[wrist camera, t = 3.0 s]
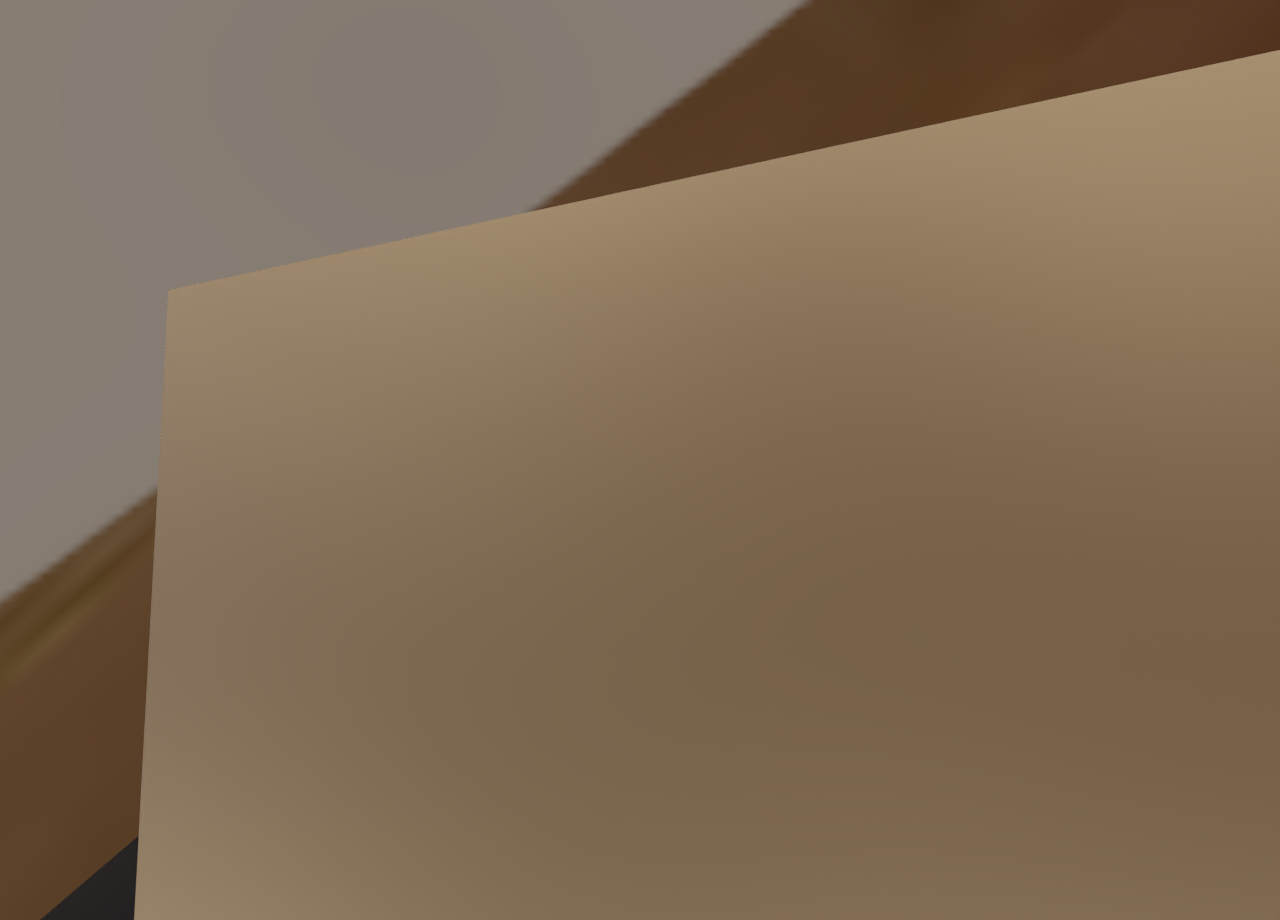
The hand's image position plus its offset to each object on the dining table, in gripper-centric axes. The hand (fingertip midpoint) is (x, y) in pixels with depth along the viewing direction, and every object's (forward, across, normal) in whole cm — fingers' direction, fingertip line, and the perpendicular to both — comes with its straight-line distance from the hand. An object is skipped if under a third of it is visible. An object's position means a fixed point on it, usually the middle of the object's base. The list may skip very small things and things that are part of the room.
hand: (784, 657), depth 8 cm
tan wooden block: (+6, 0, +6) cm, 8 cm away
